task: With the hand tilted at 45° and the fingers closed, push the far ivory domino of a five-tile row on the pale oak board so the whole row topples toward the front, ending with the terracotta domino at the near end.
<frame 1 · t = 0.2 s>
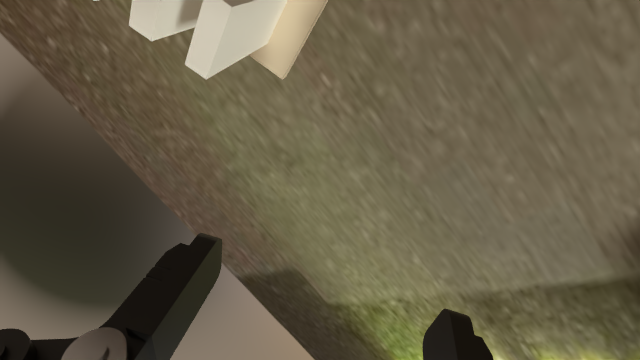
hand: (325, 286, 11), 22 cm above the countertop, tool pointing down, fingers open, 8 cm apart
tile 1: (271, 12, 26), point 1 cm above the countertop, touching domino board
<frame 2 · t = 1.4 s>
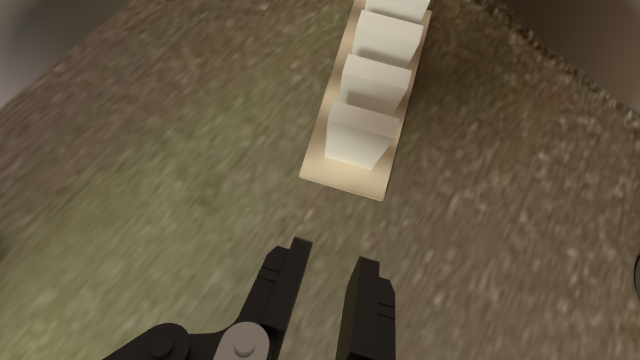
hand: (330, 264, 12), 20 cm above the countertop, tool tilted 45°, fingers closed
tile 3: (369, 88, 34), point 1 cm above the countertop, touching domino board
tile 2: (359, 121, 33), point 1 cm above the countertop, touching domino board
domino board: (367, 92, 35), on the countertop
tile 4: (378, 57, 34), point 1 cm above the countertop, touching domino board
tile 1: (349, 156, 32), point 1 cm above the countertop, touching domino board
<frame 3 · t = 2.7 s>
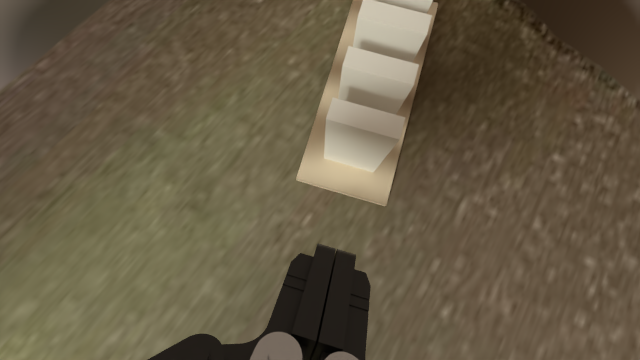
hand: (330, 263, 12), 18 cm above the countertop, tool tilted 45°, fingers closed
tile 3: (371, 85, 31), point 1 cm above the countertop, touching domino board
tile 2: (361, 120, 31), point 1 cm above the countertop, touching domino board
domino board: (369, 90, 32), on the countertop
tile 4: (381, 51, 32), point 1 cm above the countertop, touching domino board
tile 1: (350, 157, 30), point 1 cm above the countertop, touching domino board
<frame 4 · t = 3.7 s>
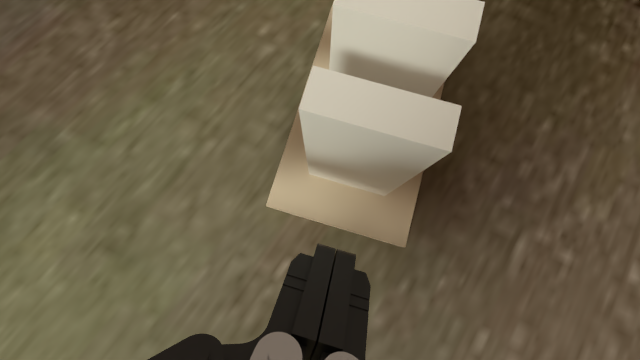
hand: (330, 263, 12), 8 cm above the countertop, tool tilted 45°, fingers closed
tile 2: (365, 117, 20), point 1 cm above the countertop, touching domino board
domino board: (378, 72, 22), on the countertop
tile 1: (349, 173, 20), point 1 cm above the countertop, touching domino board
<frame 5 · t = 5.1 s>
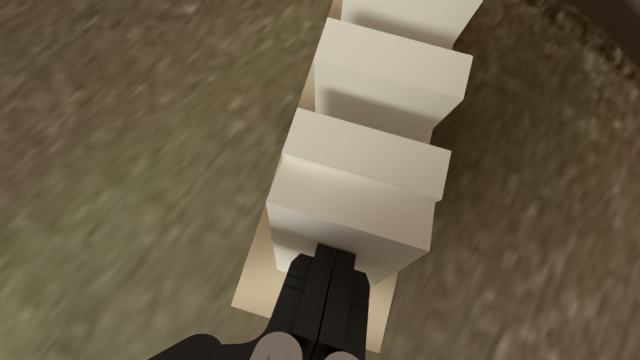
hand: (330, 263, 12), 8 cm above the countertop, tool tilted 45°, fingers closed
tile 3: (356, 147, 20), point 1 cm above the countertop, touching domino board
tile 2: (339, 205, 19), point 1 cm above the countertop, touching domino board
domino board: (354, 151, 21), on the countertop
tile 4: (372, 92, 21), point 1 cm above the countertop, touching domino board
tile 1: (321, 268, 18), point 1 cm above the countertop, tilted 17°, touching domino board, gripper
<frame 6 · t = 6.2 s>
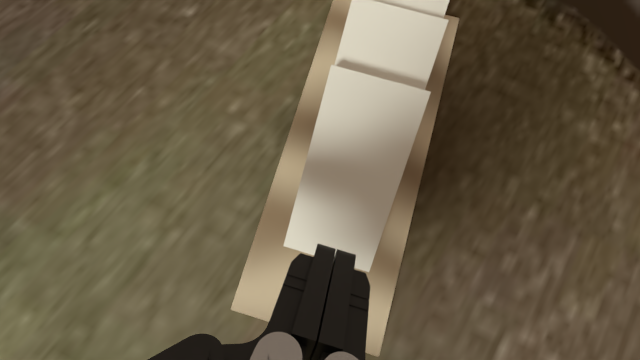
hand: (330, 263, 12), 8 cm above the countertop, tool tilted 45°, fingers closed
tile 3: (361, 129, 19), point 2 cm above the countertop, tilted 66°, touching domino board, tile 2, tile 4
tile 2: (345, 187, 19), point 2 cm above the countertop, tilted 66°, touching tile 1, tile 3
domino board: (354, 154, 21), on the countertop
tile 1: (327, 252, 18), point 2 cm above the countertop, tilted 66°, touching domino board, tile 2
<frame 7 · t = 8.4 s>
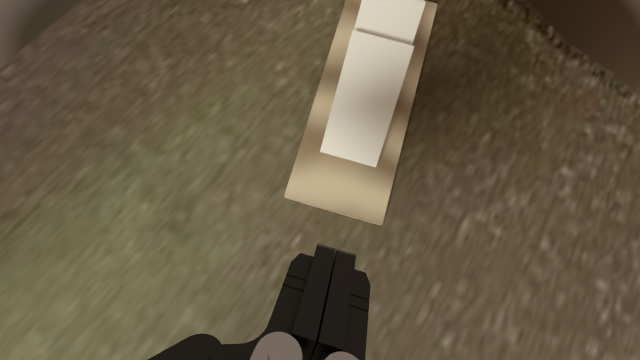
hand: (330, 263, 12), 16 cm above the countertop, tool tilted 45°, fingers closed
tile 2: (359, 116, 28), point 2 cm above the countertop, tilted 66°, touching tile 1, tile 3
domino board: (364, 98, 30), on the countertop
tile 1: (347, 158, 27), point 2 cm above the countertop, tilted 66°, touching domino board, tile 2
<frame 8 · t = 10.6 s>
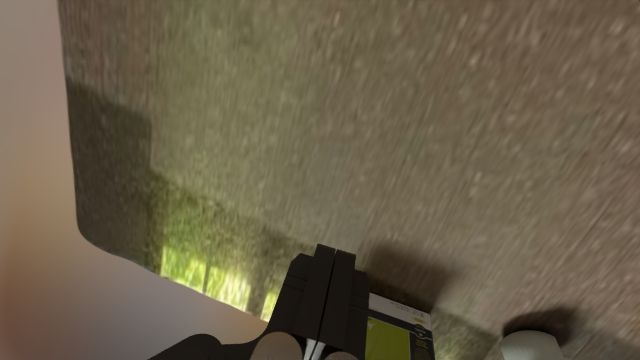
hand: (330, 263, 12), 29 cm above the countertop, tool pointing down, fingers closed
air freshener: (526, 338, 55), on the countertop
tea box: (382, 312, 59), on the countertop
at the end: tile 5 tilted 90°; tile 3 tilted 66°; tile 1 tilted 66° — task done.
